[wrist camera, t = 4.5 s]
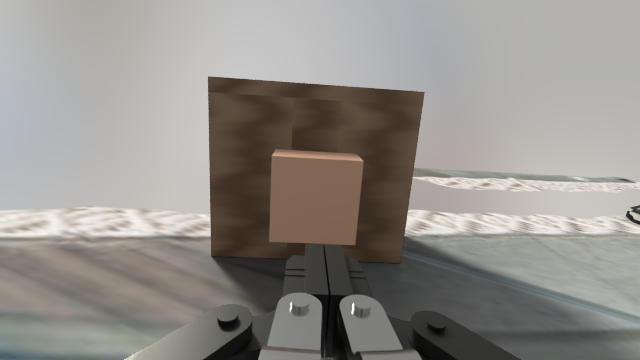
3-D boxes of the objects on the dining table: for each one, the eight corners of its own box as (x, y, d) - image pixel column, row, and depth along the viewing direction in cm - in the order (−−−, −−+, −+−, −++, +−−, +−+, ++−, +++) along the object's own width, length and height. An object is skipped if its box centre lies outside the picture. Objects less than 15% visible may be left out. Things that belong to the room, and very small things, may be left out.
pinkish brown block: (269, 241, 22) (271, 155, 20) (279, 201, 30) (281, 139, 29) (355, 245, 22) (363, 161, 21) (340, 204, 31) (346, 143, 29)
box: (211, 256, 29) (207, 76, 25) (234, 217, 39) (234, 83, 35) (400, 263, 30) (424, 92, 27) (377, 224, 40) (392, 94, 36)
